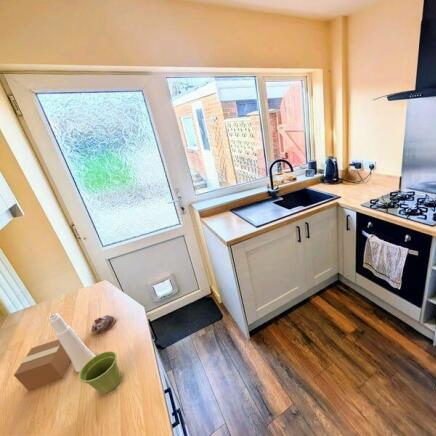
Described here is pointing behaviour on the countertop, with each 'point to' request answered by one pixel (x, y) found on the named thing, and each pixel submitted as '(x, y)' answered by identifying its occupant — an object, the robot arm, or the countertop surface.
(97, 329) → the pastry
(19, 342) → the countertop surface
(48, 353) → the box
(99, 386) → the plant pot
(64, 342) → the cosmetic bottle
